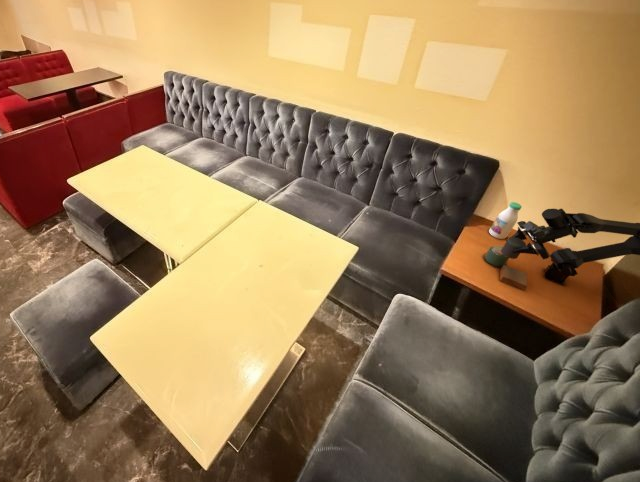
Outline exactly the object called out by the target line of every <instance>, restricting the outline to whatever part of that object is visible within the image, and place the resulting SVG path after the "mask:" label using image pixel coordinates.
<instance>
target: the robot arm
mask: <svg viewBox="0 0 640 482" xmlns="http://www.w3.org/2000/svg"><path fill="white" fill-rule="evenodd" d="M541 216H542V218H543V219H544V221H545V223H546V224H547V226H545V225H538V224H536V223H534V222H533V221H531V220H529V221H527V222H526V221H524V220H521V221H517V222H516V224H517V225H518V226H517V231H516V232H515V233H514V234H513V235H512V236H511V237H516V238H519V239H521V240H523V241H524V240H528V238H529V240H530V241H531V242H532V243H531V242H530V241H529V242H528V243H526V246H524V247H521V248H518V249H515V250H513V252H514V253H520V254H528V255H536V256H537V257H538V256H540V258H542V260H546V259H547V260H548V259H549V258H550V261H551V262H552V263H551V264H549V265H547V266H546V268H545V269H544V270H543V274H544V278H545V279H546V280H548V281H551V282H554V283H557V284H559V285H562V286H564V285H565V281H566V280H567V279H568V278H569V277H574V276H577V275H578V274H579V273H578V272H577V270H576V269H578V268H580V267H581V266H582V265H583V264H586V263H590V262H596V261H601V260H606V259H607V260H608V259H612V258H617V257H624V256H628V255H629V256H630V255H636V256H640V222H628V221H620V220H612V219H603V218H599V217H597V216H595V215H592V214H588V213H584V212H578V213H571V212H569V213H568V212H566V211H565V210H564V209H563V208H547V209H545V210H543V211H541ZM600 232H601V233H611V234H618V235H627V236H628V235H629V237H628V238H627V239H626V240H624V241H622V242H616V243H612V244H606V245H601V246H596V247H592V248H587V249H582V250H572V249H571V248H570V247H564V248H562V249H556V250H555V251H553V252H551V254H550V253H549V251H548V249H546V247H545V245H544V244H546V243H549V242H551V243H556V242H557V240H559V239H562V238H565V237H568V236H571V237H572V238H574V239H575V238H576V237H577V235H578V233H581V234H596V233H600ZM527 237H528V238H527ZM507 240H508V239H506V241H505V242H507Z"/></svg>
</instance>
